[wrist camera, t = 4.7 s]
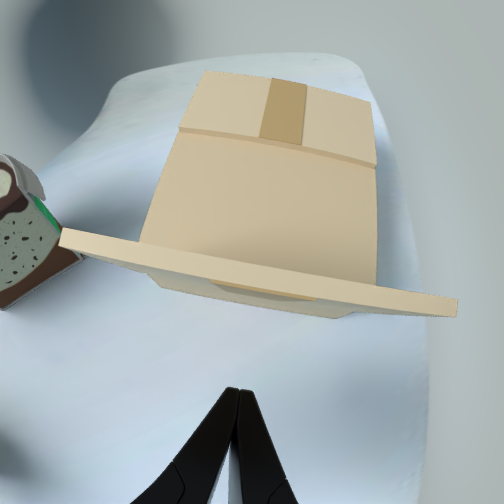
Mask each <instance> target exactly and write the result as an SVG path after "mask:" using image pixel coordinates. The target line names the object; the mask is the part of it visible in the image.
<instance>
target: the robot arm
mask: <svg viewBox="0 0 504 504" xmlns="http://www.w3.org/2000/svg"><path fill="white" fill-rule="evenodd" d="M229 445H230V448H229ZM228 449H229V493H228V504H298V502H297V500H296V498H295V496H294V494H293V491H292V489H291V487H290V484H289V482H288V480H287V479H286V475H285V473H284V470H283V468H282V465H281V463H280V460H279V458H278V455H277V453H276V450H275V448H274V445H273V443H272V440H271V437H270V435H269V432H268V430H267V427H266V424H265V422H264V419H263V416H262V414H261V411H260V408H259V406H258V403H257V400H256V397H255V395H254V392H253V391H251V390H245V389H241V390H239V389H238V388H233V387H227V388H226V389H225V390H224V392H223V393H222V395H221V396H220V397H219V399H218V400H217V402H216V403H215V404H214V406H213V407H212V408H211V410H210V411H209V413H208V414H207V415H206V417H205V418H204V419H203V421H202V422H201V423H200V425H199V426H198V427H197V429H196V430H195V431H194V433H193V434H192V435H191V437H190V438H189V439H188V441H187V442H186V443H185V445H184V446H183V447H182V449H181V450H180V451H179V452H178V454H177V455H176V456H175V458H174V459H173V462H171V463H170V464H169V465H168V466H167V468H166V469H165V470H164V471H163V472H162V474H161V475H160V476H159V477H158V478H157V479H156V480H155V481H154V482H153V483H152V484H151V485H150V486H149V487H148V488H147V489H146V490H145V491H144V492H143V493H142V494H141V495H139V496H138V497H137V498H136V499H135V500H134V501H132V502H131V503H130V504H210V503H211V500H212V497H213V495H214V492H215V489H216V486H217V483H218V480H219V477H220V474H221V471H222V468H223V465H224V462H225V459H226V455H227V452H228Z"/></svg>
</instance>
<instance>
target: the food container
mask: <svg viewBox="0 0 504 504" xmlns="http://www.w3.org/2000/svg"><path fill="white" fill-rule="evenodd" d="M40 199H41V200H43V201H45V200H46V198H45V195H44V191H43V187H42V185H41V183H40V181H39V179H38V177H37V176H36V175H35V174H34V172H33V171H32V170H31V169H29V168H28V167H27V166H25V165H24V164H22V163H21V162H19V161H17V160H16V159H14V158H13V157H11V156H9V155H6V154H1V153H0V310H1V311H5V310H6V309H8V308H9V307H10V306H12V305H13V304H15V303H16V302H18V301H19V300H21V299H22V298H24V297H25V296H27V295H28V294H30V293H32V292H33V291H35V290H36V289H38V288H39V287H41V286H42V285H44V284H46V283H47V282H49V281H50V280H52V279H54V278H55V277H57V276H58V275H60V274H62V273H63V272H65V271H67V270H68V269H70V268H72V267H73V266H75V265H77V264H78V263H80V262H82V261H83V260H84V258H83V255H82V254H81V253H78V252H75V251H72V250H69V249H66V248H64V247H61V246H58V245H59V241H60V237H61V233H62V229H63V228H62V226H61V225H60V224H59V223H58V222H57V220H56V219H55V218H54V217H53V215H52V214H51V213H50V212H49V210H48V209H47V208H46V207H45V205H44V204H43V203H42V201H41V200H40Z"/></svg>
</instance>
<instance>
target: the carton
mask: <svg viewBox="0 0 504 504" xmlns="http://www.w3.org/2000/svg"><path fill="white" fill-rule="evenodd" d="M376 165H377V157H376V146H375V136H374V126H373V118H372V110H371V103H370V102H367V101H364V100H361V99H357V98H354V97H350V96H347V95H343V94H340V93H336V92H332V91H328V90H324V89H320V88H315V87H311V86H306V84H301V83H296V82H291V81H286V80H280V79H275V78H272V79H270V78H263V77H257V76H250V75H242V74H234V73H224V72H214V71H205V72H204V74H203V76H202V78H201V80H200V82H199V84H198V86H197V88H196V90H195V92H194V94H193V96H192V98H191V101H190V103H189V105H188V107H187V109H186V111H185V114H184V116H183V118H182V120H181V123H180V125H179V131H178V134H177V136H176V139H175V141H174V143H173V146H172V148H171V151H170V153H169V156H168V158H167V161H166V163H165V166H164V169H163V171H162V174H161V177H160V179H159V182H158V185H157V188H156V190H155V193H154V196H153V199H152V202H151V205H150V207H149V210H148V213H147V216H146V219H145V223H144V226H143V229H142V232H141V235H140V238H139V242H140V243H145V244H150V245H155V246H160V247H166V248H171V249H176V250H181V251H187V252H192V253H197V254H202V255H208V256H213V257H219V258H224V259H229V260H235V261H240V262H246V263H251V264H256V265H262V266H267V267H273V268H279V269H284V270H290V271H295V272H301V273H306V274H312V275H318V276H323V277H329V278H335V279H341V280H346V281H352V282H358V283H364V284H370V285H375V286H376V269H377V193H376V172H375V167H376ZM147 275H148V276H149V277H150V278H151V279H152V280H153V281H155V282H156V283H157V284H158V285H159V286H160V287H162V288H166V289H171V290H175V291H180V292H185V293H190V294H195V295H199V296H204V297H209V298H214V299H220V300H225V301H230V302H235V303H241V304H246V305H252V306H257V307H263V308H269V309H275V310H281V311H287V312H293V313H299V314H306V315H312V316H319V317H326V318H333V319H337V318H340V317H342V316H345V315H348V314H350V313H353V312H355V311H349V310H342V309H335V308H329V307H322V306H316V305H309V304H303V303H297V302H291V301H274V300H269V299H263V298H257V297H252V296H246V295H241V294H235V293H230V292H226V291H224V290H222V289H218V288H213V287H208V286H203V285H198V284H193V283H188V282H183V281H178V280H174V279H169V278H164V277H159V276H155V275H150V274H147Z"/></svg>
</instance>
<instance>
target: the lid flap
mask: <svg viewBox="0 0 504 504" xmlns="http://www.w3.org/2000/svg"><path fill="white" fill-rule="evenodd" d="M58 246H61V247H64V248H66V249H69V250H72V251H75V252H78V253H81V254H84V255H87V256H90V257H93V258H96V259H99V260H102V261H105V262H109V263H112V264H115V265H118V266H121V267H124V268H128V269H131V270H134V271H137V272H141V273H146V274H150V275H155V276H159V277H164V278H169V279H174V280H178V281H183V282H188V283H193V284H198V285H203V286H208V287H213V288H218V289H222V290H224V291H226V292H230V293H235V294H241V295H246V296H252V297H257V298H263V299H269V300H274V301H291V302H297V303H303V304H309V305H316V306H322V307H329V308H335V309H342V310H349V311H356V312H363V313H375V314H391V315H410V316H433V317H434V316H435V317H456V315H457V306H458V299H454V298H447V297H441V296H435V295H429V294H423V293H417V292H411V291H405V290H399V289H393V288H387V287H381V286H375V285H370V284H364V283H358V282H352V281H346V280H341V279H335V278H329V277H323V276H318V275H312V274H306V273H301V272H295V271H290V270H284V269H279V268H273V267H267V266H262V265H256V264H251V263H246V262H240V261H235V260H229V259H224V258H219V257H213V256H208V255H202V254H197V253H192V252H187V251H181V250H176V249H171V248H166V247H160V246H155V245H150V244H145V243H140V242H135V241H129V240H124V239H119V238H114V237H109V236H104V235H99V234H94V233H89V232H84V231H79V230H74V229H69V228H64V227H63V229H62V233H61V237H60V241H59V245H58Z"/></svg>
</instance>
